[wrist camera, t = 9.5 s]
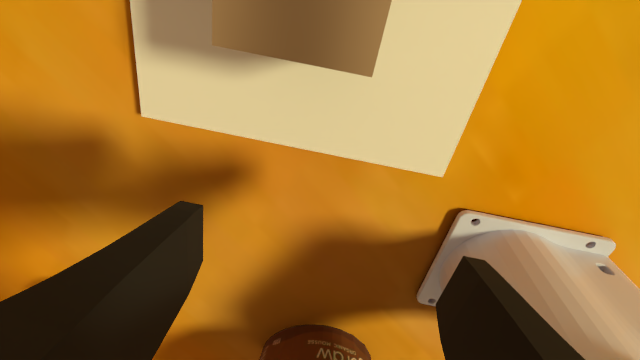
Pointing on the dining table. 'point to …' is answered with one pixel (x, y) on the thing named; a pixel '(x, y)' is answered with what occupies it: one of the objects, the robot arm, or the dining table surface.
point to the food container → (314, 345)
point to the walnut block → (304, 30)
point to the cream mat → (327, 82)
